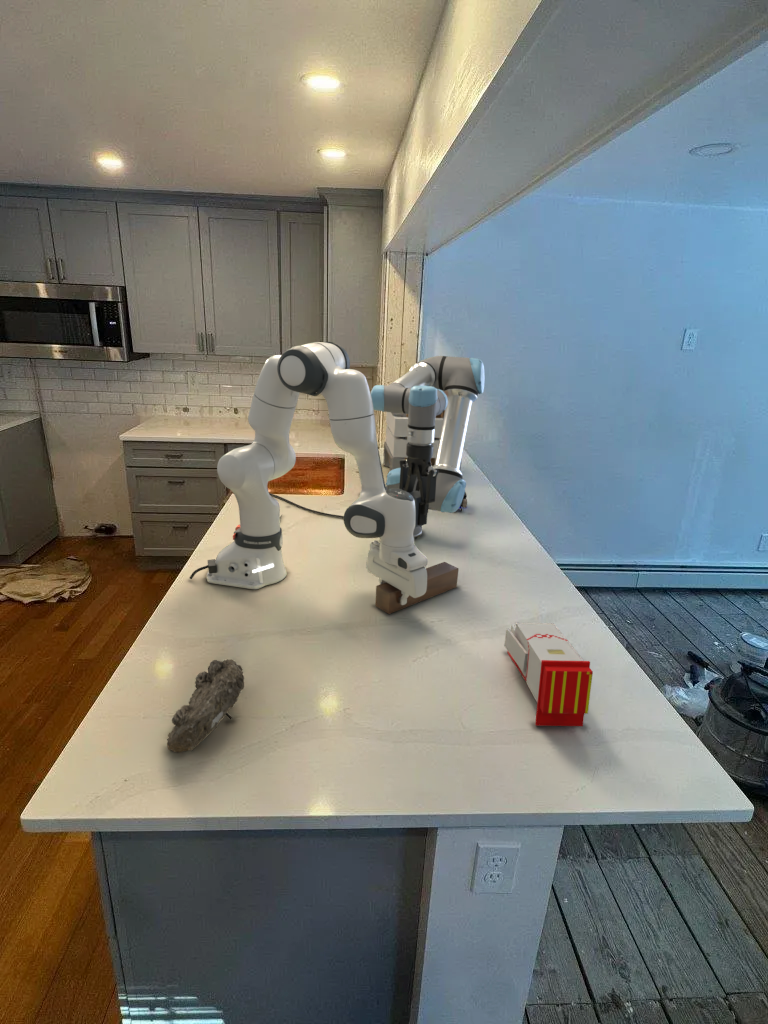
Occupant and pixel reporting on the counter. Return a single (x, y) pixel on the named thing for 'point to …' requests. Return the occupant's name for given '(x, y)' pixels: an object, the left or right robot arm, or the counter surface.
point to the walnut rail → (437, 583)
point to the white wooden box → (404, 439)
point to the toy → (551, 672)
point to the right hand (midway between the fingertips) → (414, 521)
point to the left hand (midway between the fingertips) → (393, 598)
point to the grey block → (417, 505)
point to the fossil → (206, 705)
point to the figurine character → (463, 502)
